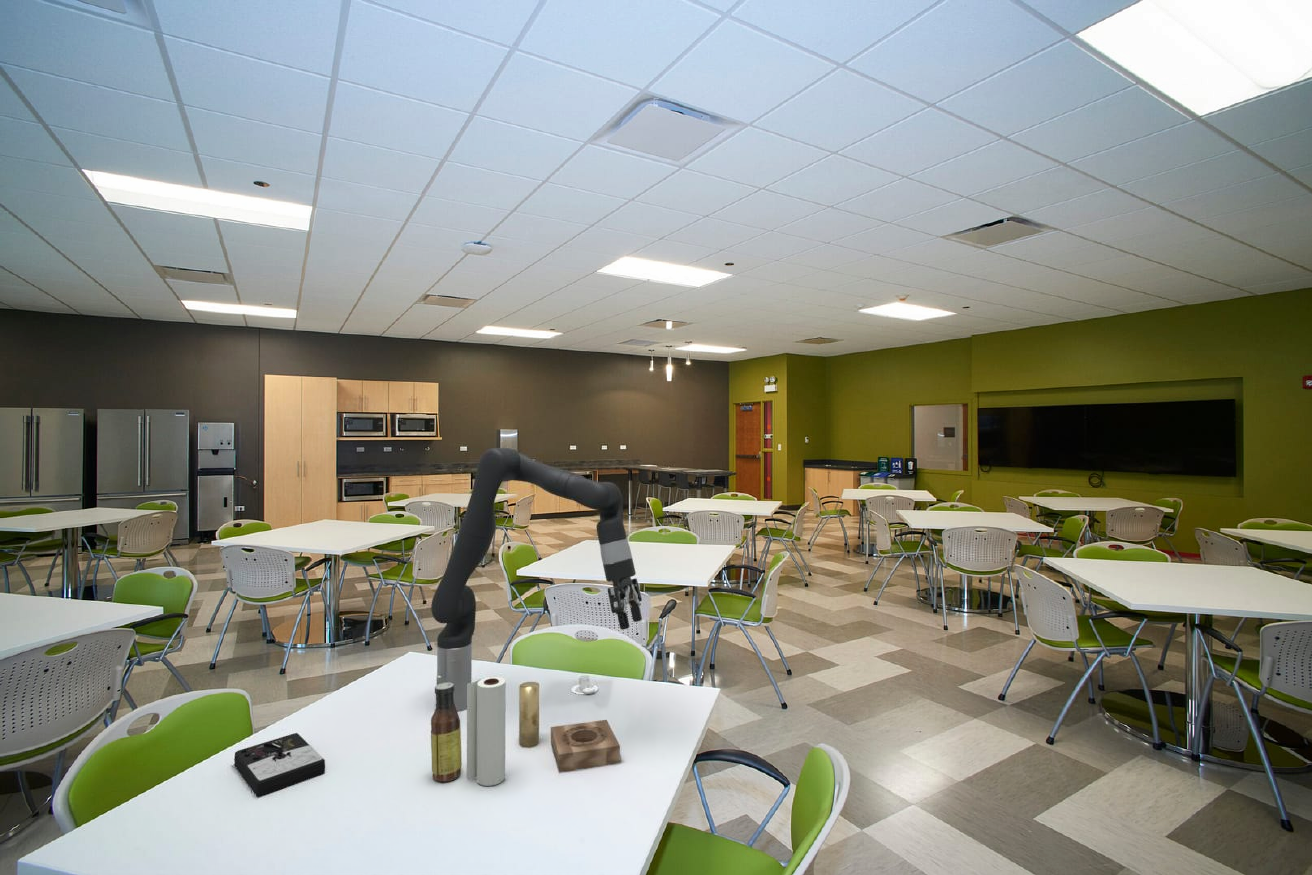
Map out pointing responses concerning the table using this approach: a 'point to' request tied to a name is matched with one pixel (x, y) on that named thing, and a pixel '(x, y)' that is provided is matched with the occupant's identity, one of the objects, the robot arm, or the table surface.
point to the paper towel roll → (486, 730)
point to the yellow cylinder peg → (529, 714)
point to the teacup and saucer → (584, 686)
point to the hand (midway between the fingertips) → (631, 624)
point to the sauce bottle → (445, 735)
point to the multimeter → (278, 764)
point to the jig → (584, 745)
